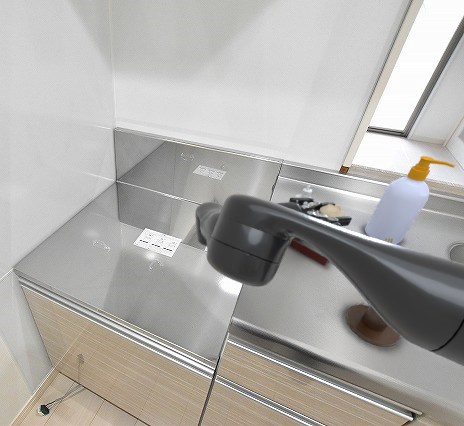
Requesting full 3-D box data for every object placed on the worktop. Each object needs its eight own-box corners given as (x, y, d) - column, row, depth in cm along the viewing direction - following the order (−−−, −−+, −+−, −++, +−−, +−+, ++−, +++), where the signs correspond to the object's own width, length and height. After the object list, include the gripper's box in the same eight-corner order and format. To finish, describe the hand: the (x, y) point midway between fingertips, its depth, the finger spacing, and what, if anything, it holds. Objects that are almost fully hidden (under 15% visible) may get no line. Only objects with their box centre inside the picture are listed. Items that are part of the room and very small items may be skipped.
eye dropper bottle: (294, 225, 87) (307, 191, 80) (285, 215, 92) (296, 181, 85) (309, 224, 87) (322, 190, 81) (299, 214, 92) (311, 180, 85)
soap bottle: (398, 251, 78) (451, 170, 64) (359, 234, 84) (399, 157, 70) (408, 237, 82) (459, 159, 68) (370, 222, 88) (410, 147, 74)
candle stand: (405, 329, 59) (445, 283, 51) (387, 356, 55) (427, 309, 47) (357, 300, 65) (386, 254, 57) (337, 322, 61) (365, 276, 53)
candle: (304, 234, 79) (316, 203, 73) (321, 230, 80) (334, 199, 74) (320, 247, 74) (334, 215, 68) (337, 243, 76) (353, 211, 70)
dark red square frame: (342, 250, 78) (346, 243, 77) (324, 266, 74) (327, 259, 72) (308, 232, 85) (310, 225, 83) (289, 246, 80) (291, 239, 79)
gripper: (296, 224, 63) (369, 217, 65) (266, 190, 75) (328, 185, 76) (287, 249, 68) (355, 243, 69) (260, 214, 79) (319, 209, 81)
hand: (340, 213), depth 73 cm, fingers closed on candle, 5 cm apart
